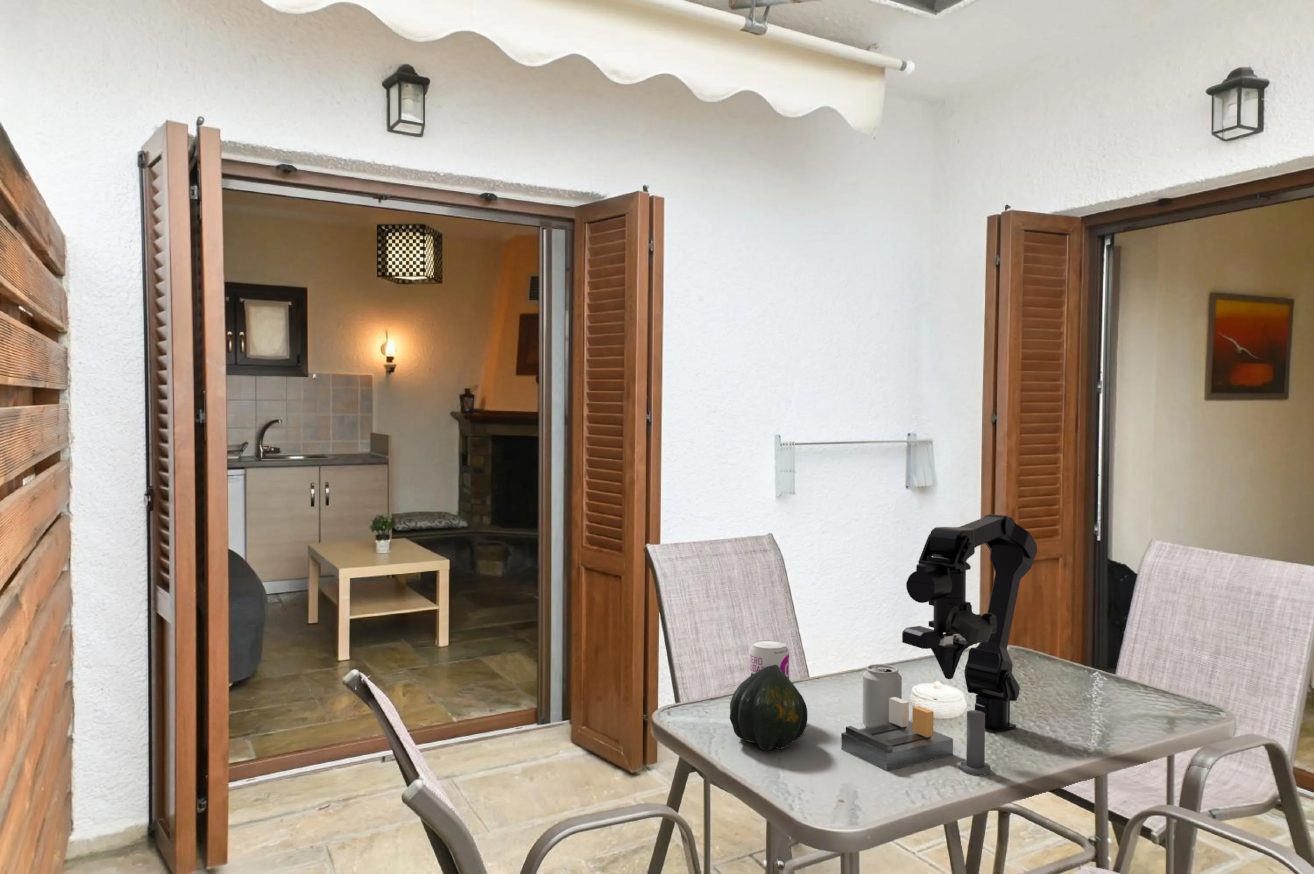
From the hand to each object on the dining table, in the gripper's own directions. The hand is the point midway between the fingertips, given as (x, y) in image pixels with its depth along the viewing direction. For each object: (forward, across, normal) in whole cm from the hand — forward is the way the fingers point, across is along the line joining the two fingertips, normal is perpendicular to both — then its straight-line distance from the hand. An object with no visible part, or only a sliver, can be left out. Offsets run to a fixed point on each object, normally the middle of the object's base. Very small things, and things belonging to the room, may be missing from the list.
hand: (948, 678), depth 170 cm
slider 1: (+9, -7, +6) cm, 13 cm away
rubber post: (+13, -4, -10) cm, 17 cm away
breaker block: (+13, -11, +2) cm, 17 cm away
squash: (+13, -29, +18) cm, 36 cm away
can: (+13, -4, +14) cm, 19 cm away
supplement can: (+13, -20, +30) cm, 38 cm away
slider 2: (+9, -7, 0) cm, 11 cm away
